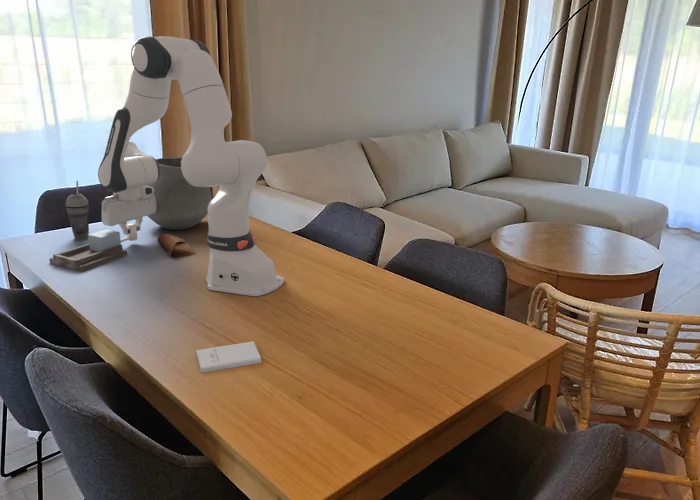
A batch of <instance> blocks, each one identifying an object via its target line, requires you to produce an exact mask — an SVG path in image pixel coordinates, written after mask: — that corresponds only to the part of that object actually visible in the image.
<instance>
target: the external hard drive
mask: <svg viewBox="0 0 700 500" xmlns="http://www.w3.org/2000/svg"><path fill="white" fill-rule="evenodd" d="M196 356H197V360H198V365H199V366H198V367H199V370H200V373H201V374H202V373H207V372H214V371H221V370H226V369H232V368H237V367H243V366H244V367H245V366H249V365H255V364H262V357H261V355H260V353H259V350H258V347H257V345H256V344H255V341H253V340H252V341H248V342H241V343H236V344H234V343H233V344H229V345H221V346H215V347H209V348H203V349H201V348H200V349H197V350H196Z"/></svg>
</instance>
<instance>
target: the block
mask: <svg viewBox="0 0 700 500" xmlns="http://www.w3.org/2000/svg"><path fill="white" fill-rule="evenodd" d="M126 227H127V228H128V229H130V234H128V235H127V237H124V238H121V234H120V231H116V230H111V229H107V228H105V229H103V230H99V231H95V232H92V233H89V234H88V238H87V239H88V244H89V247H90V250H93V251H97V252H99V251H102V250H105V249H108V248H111V247H114V246H117V245H122V243H123V242H126V241H132V242H133V241H137V240H138V231H137V229H136V224H135V223H127V225H126Z"/></svg>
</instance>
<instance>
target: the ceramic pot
mask: <svg viewBox="0 0 700 500" xmlns="http://www.w3.org/2000/svg"><path fill="white" fill-rule="evenodd" d="M182 157H183V156H182ZM182 157H171V158H170V157H160V158H155V159H156V160H157V162H158V164H159V167H160V176H159V179H158V181H157V182H156V183H154V184H151V185H147V186H149V187H153V188H154V193H153V194H154V196H155V199H156V207H157V209H156V212H155V213H154V214H151V215H147V216H146V217H148V218H149V219H150V220H151V221H153V222H154V223H155V224H157V225H158V226H159V227H162V228H164V229H165V230H172V231H184V230H187V229H190V228H193V227H194V226H196V225H197V224H199V223H200V222H201V221H202V220H204V219H205V218H206V217H207V216H208V205H209V203H210V201H211V200H212V199H213V196H212V190H211V187H195V186H192V185H191V184H189V183H188V182H187V181H186V179H185V178H184V176H183V174H182V170H181V161H182Z"/></svg>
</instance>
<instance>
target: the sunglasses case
mask: <svg viewBox="0 0 700 500" xmlns="http://www.w3.org/2000/svg"><path fill="white" fill-rule="evenodd" d="M157 242H158V244H159V245H160V246H161V247H162V248H164V250H165V251H166V252H167V253H168V255H169V256H171V257H172V258H173V259H177V258H183V257H190V256H194V255H196V251H194V250H193V248H192V247H191V246H190V245H189V244H188V243H187V242H186V240H184V239H183V238H181V237H178V236H175V235H173V234H168V233H160V234H159V235H158V236H157Z"/></svg>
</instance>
